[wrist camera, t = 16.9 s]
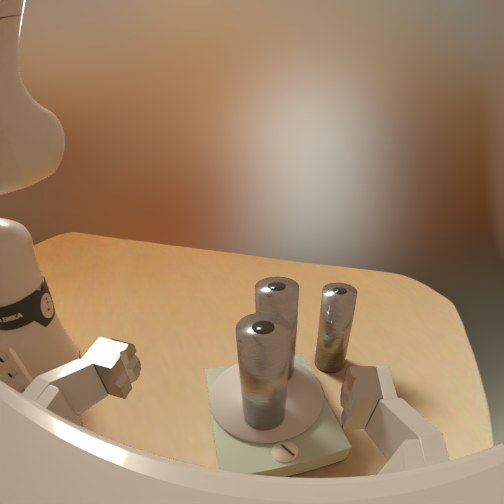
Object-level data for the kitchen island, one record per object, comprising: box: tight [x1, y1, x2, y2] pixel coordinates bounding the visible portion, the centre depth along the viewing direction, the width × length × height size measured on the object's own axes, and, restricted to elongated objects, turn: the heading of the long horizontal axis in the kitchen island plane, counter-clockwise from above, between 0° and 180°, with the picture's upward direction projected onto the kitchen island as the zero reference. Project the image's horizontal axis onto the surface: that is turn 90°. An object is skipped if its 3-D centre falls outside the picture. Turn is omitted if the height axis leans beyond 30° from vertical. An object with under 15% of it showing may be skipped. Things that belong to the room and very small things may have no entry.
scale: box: [205, 353, 351, 477], centre depth 29 cm, size 13×16×4 cm
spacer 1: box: [255, 277, 299, 380], centre depth 31 cm, size 4×4×12 cm
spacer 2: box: [236, 312, 291, 431], centre depth 25 cm, size 4×4×12 cm
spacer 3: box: [315, 283, 357, 372], centre depth 37 cm, size 4×4×12 cm
